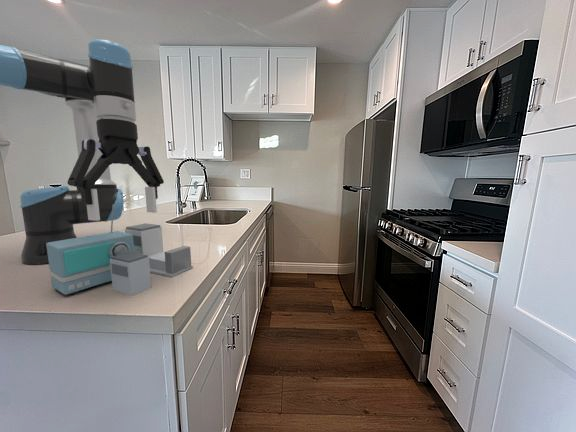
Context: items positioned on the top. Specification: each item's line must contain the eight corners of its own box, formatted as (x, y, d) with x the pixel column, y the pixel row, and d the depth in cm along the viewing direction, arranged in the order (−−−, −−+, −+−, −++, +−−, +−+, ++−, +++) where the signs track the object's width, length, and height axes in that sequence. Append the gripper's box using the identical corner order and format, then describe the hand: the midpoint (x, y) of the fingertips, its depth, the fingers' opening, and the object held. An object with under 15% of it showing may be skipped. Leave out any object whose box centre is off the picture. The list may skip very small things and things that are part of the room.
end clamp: (166, 272, 71) (164, 252, 70) (185, 264, 78) (184, 245, 77) (172, 273, 70) (171, 253, 69) (191, 265, 77) (190, 246, 76)
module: (111, 290, 61) (108, 257, 60) (132, 282, 66) (129, 251, 65) (131, 296, 58) (127, 261, 57) (151, 287, 63) (148, 255, 62)
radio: (66, 300, 57) (54, 212, 53) (52, 290, 61) (40, 208, 58) (139, 276, 70) (132, 205, 67) (122, 270, 75) (116, 202, 71)
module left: (126, 264, 77) (122, 227, 75) (148, 257, 84) (145, 223, 82) (142, 268, 74) (138, 229, 72) (163, 260, 81) (161, 225, 79)
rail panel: (124, 266, 77) (123, 255, 76) (147, 258, 84) (146, 248, 84) (171, 277, 69) (170, 265, 69) (192, 268, 77) (192, 256, 76)
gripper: (57, 104, 43) (72, 226, 46) (174, 129, 66) (179, 210, 69) (34, 108, 46) (50, 223, 49) (154, 131, 69) (160, 209, 72)
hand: (126, 215), depth 59 cm, fingers open, 13 cm apart
